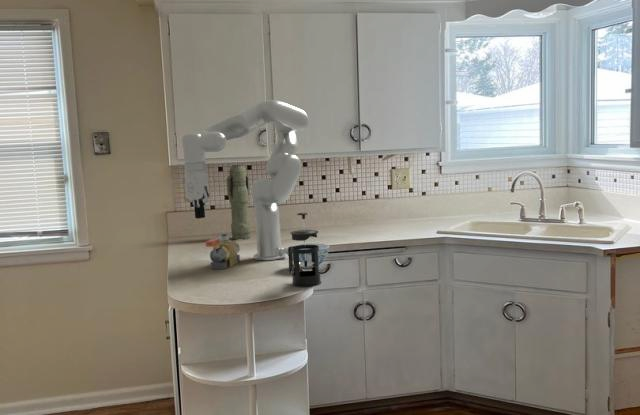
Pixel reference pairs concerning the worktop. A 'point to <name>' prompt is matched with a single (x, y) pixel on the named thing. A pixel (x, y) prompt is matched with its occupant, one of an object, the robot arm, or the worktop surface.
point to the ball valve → (225, 254)
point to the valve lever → (217, 240)
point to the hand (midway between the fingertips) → (200, 217)
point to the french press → (305, 276)
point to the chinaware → (321, 254)
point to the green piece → (239, 201)
